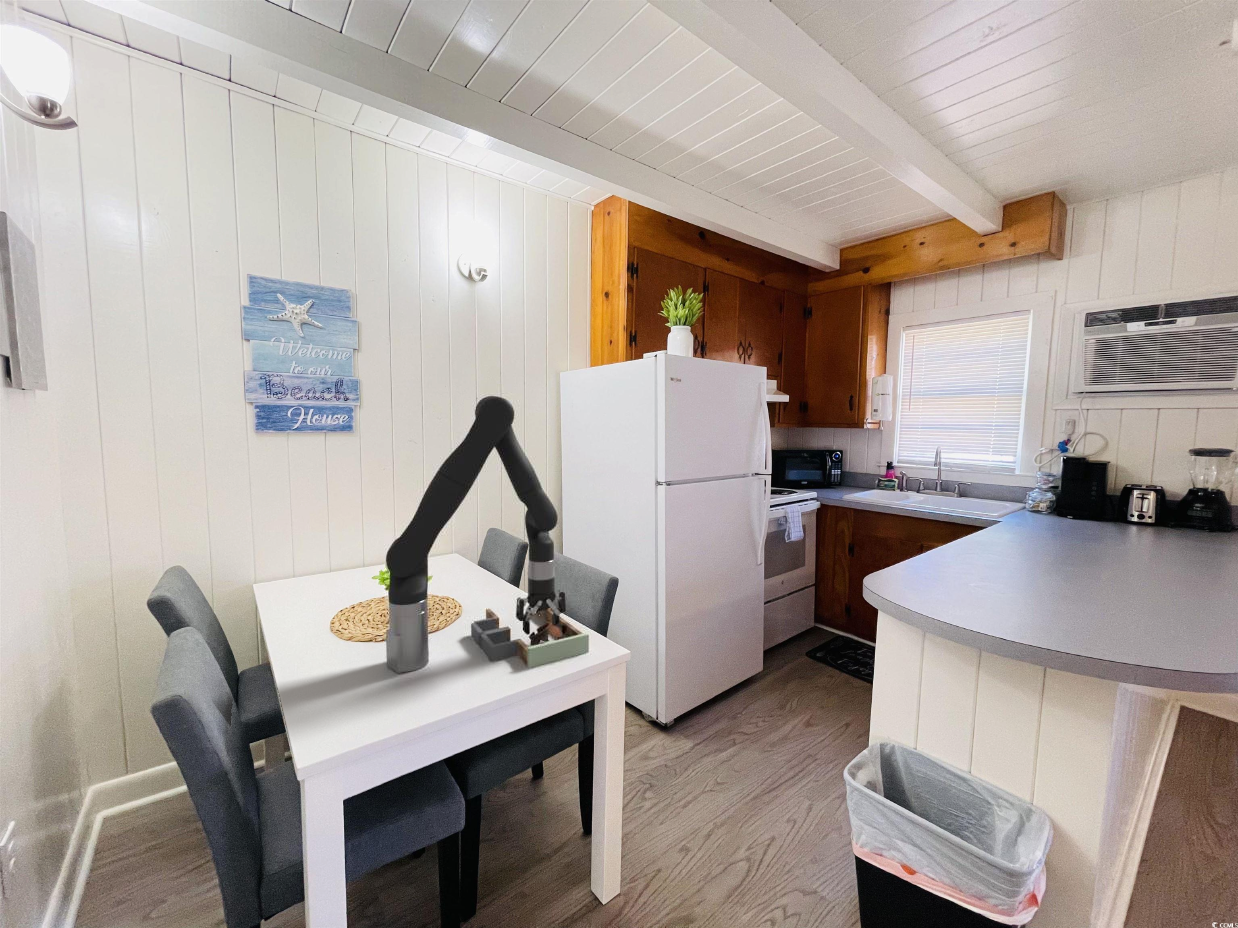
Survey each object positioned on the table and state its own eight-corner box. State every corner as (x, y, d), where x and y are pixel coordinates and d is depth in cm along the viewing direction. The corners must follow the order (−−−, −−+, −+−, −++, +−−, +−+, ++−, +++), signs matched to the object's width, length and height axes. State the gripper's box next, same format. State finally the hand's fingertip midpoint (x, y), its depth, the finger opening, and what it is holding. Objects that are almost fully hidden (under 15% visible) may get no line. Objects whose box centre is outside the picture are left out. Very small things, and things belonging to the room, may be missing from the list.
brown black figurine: (555, 662, 134) (539, 635, 134) (534, 667, 140) (519, 641, 140) (581, 635, 144) (567, 610, 143) (560, 641, 149) (546, 617, 149)
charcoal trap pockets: (517, 655, 136) (517, 641, 136) (491, 661, 133) (491, 647, 132) (493, 630, 153) (493, 617, 152) (470, 635, 149) (469, 622, 149)
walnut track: (586, 650, 140) (586, 636, 140) (527, 665, 131) (527, 650, 130) (537, 611, 168) (537, 599, 168) (486, 621, 159) (485, 609, 159)
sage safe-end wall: (588, 652, 139) (588, 634, 139) (529, 667, 130) (529, 648, 129) (586, 650, 140) (586, 632, 140) (527, 665, 131) (527, 647, 130)
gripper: (522, 582, 136) (522, 640, 137) (570, 574, 144) (569, 629, 145) (512, 575, 142) (512, 631, 144) (558, 567, 150) (558, 621, 151)
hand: (541, 630), depth 144 cm, fingers open, 8 cm apart
